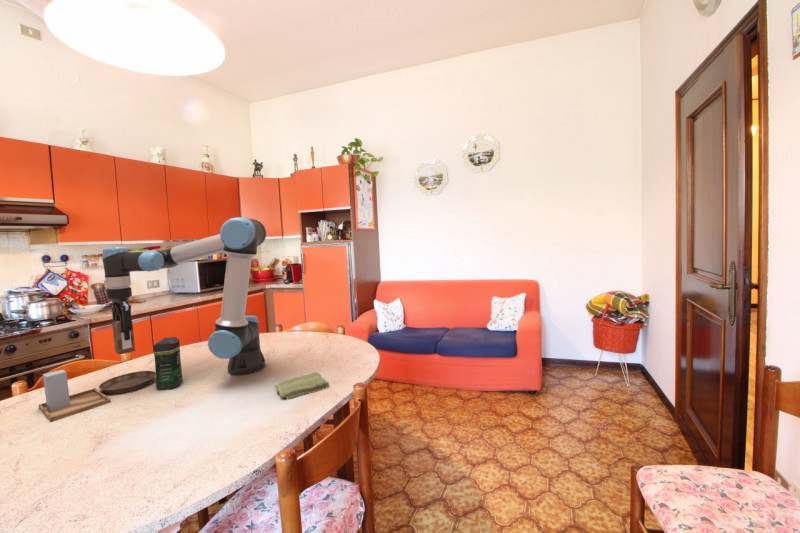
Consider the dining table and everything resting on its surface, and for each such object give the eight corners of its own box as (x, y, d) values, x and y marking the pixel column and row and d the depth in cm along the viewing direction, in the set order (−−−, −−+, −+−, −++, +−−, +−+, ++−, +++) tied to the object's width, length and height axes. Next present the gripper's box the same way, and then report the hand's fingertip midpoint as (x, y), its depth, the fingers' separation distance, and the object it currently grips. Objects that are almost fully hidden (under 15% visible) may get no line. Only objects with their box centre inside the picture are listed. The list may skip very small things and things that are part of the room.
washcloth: (273, 389, 129) (272, 380, 129) (318, 377, 139) (318, 369, 138) (282, 402, 118) (281, 393, 118) (330, 389, 128) (330, 380, 127)
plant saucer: (87, 399, 125) (86, 391, 125) (119, 379, 143) (118, 372, 143) (140, 394, 128) (139, 386, 128) (165, 375, 145) (164, 368, 145)
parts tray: (110, 403, 121) (110, 399, 121) (51, 422, 109) (50, 418, 109) (95, 392, 131) (95, 388, 131) (39, 408, 119) (38, 404, 118)
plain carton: (70, 405, 120) (66, 371, 119) (50, 411, 116) (45, 377, 115) (66, 402, 122) (62, 369, 121) (47, 408, 118) (42, 374, 117)
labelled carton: (135, 350, 135) (132, 320, 134) (119, 354, 131) (116, 322, 130) (130, 348, 137) (127, 318, 136) (115, 352, 133) (111, 321, 132)
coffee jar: (178, 388, 131) (173, 341, 130) (153, 392, 129) (149, 343, 127) (185, 379, 141) (181, 334, 139) (163, 382, 138) (158, 336, 137)
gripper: (98, 287, 134) (104, 346, 136) (114, 290, 124) (121, 353, 126) (122, 284, 140) (128, 341, 142) (139, 287, 130) (145, 347, 132)
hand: (124, 346), depth 134 cm, fingers closed on labelled carton, 4 cm apart
